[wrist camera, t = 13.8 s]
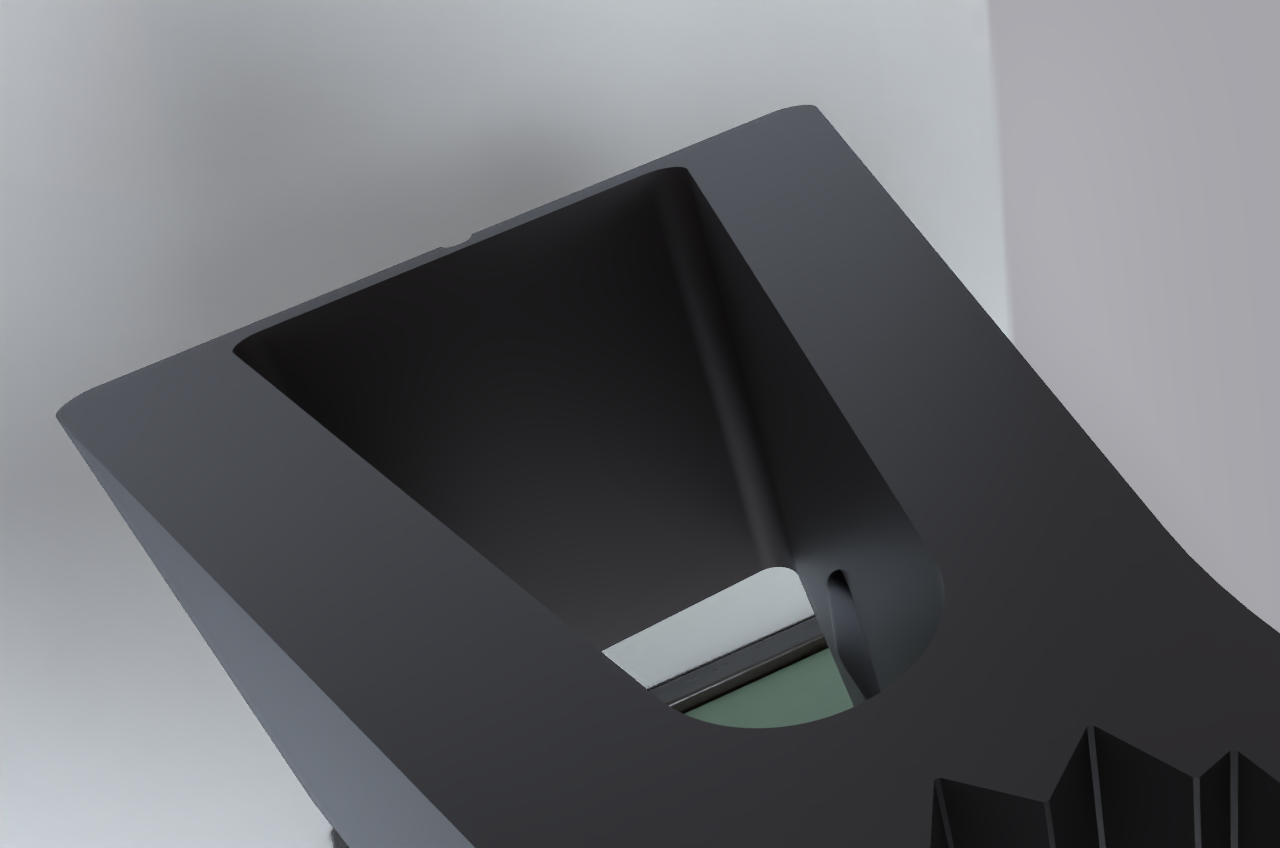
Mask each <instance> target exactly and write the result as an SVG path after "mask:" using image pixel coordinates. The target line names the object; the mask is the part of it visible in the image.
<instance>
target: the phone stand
mask: <svg viewBox="0 0 1280 848" xmlns="http://www.w3.org/2000/svg"><path fill="white" fill-rule="evenodd" d="M56 418H57V419H58V421H59V422H60V424H61V425H62V427H63V428H64V430H65V431H66V433H67V434H68V436H69V437H70V439H71V440H72V442H73V443H74V445H75V446H76V448H77V449H78V451H79V452H80V454H81V455H82V457H83V458H84V460H85V461H86V463H87V464H88V466H89V467H90V469H91V470H92V472H93V473H94V475H95V476H96V478H97V479H98V481H99V482H100V484H101V485H102V487H103V488H104V490H105V491H106V493H107V494H108V496H109V497H110V499H111V500H112V502H113V503H114V505H115V506H116V507H117V509H118V510H119V512H120V513H121V515H122V516H123V518H124V519H125V521H126V522H127V524H128V525H129V527H130V528H131V530H132V531H133V533H134V534H135V536H136V537H137V539H138V540H139V542H140V543H141V545H142V546H143V548H144V549H145V551H146V552H147V554H148V555H149V557H150V558H151V560H152V561H153V563H154V564H155V566H156V567H157V569H158V570H159V572H160V573H161V575H162V576H163V578H164V579H165V581H166V582H167V584H168V585H169V587H170V588H171V590H172V591H173V593H174V594H175V596H176V597H177V599H178V600H179V602H180V603H181V605H182V606H183V608H184V609H185V611H186V612H187V614H188V615H189V617H190V618H191V620H192V621H193V623H194V624H195V626H196V627H197V629H198V630H199V632H200V633H201V635H202V636H203V638H204V639H205V641H206V642H207V644H208V645H209V647H210V648H211V650H212V651H213V653H214V654H215V656H216V657H217V659H218V660H219V662H220V663H221V665H222V666H223V668H224V669H225V671H226V672H227V674H228V675H229V677H230V678H231V680H232V681H233V683H234V684H235V686H236V687H237V689H238V690H239V692H240V693H241V695H242V696H243V698H244V699H245V701H246V702H247V704H248V705H249V707H250V708H251V710H252V711H253V713H254V714H255V716H256V717H257V719H258V720H259V722H260V723H261V725H262V726H263V728H264V729H265V731H266V732H267V734H268V735H269V737H270V738H271V740H272V741H273V743H274V744H275V746H276V747H277V749H278V750H279V752H280V753H281V755H282V756H283V758H284V759H285V761H286V762H287V764H288V765H289V767H290V768H291V770H292V771H293V773H294V774H295V776H296V777H297V778H298V780H299V781H300V783H301V784H302V786H303V787H304V789H305V790H306V792H307V793H308V795H309V796H310V798H311V799H312V801H313V802H314V804H315V805H316V806H317V807H318V809H319V810H320V811H321V812H322V814H323V815H324V816H325V818H326V819H327V820H328V821H329V823H330V824H331V825H332V826H333V828H334V829H335V830H336V831H337V833H338V834H339V835H340V836H341V838H342V839H343V840H344V841H345V843H346V844H347V845H348V846H349V848H1280V633H1278V632H1277V631H1276V630H1275V629H1273V628H1272V627H1271V626H1269V625H1268V624H1267V623H1265V622H1264V621H1263V620H1262V619H1260V618H1259V617H1258V616H1256V615H1255V614H1254V613H1252V612H1251V611H1250V610H1249V609H1247V608H1246V607H1245V606H1244V605H1243V604H1242V603H1240V602H1239V601H1238V600H1237V599H1236V598H1235V597H1233V596H1232V595H1231V594H1230V593H1229V592H1228V591H1226V590H1225V589H1224V588H1223V587H1222V586H1220V584H1218V583H1217V582H1216V581H1215V580H1214V579H1213V578H1212V577H1211V576H1210V575H1209V574H1208V573H1207V572H1205V570H1204V569H1203V568H1202V567H1201V566H1200V565H1198V564H1197V563H1196V562H1195V561H1194V560H1193V559H1192V558H1191V557H1190V556H1189V555H1188V554H1187V553H1186V551H1185V550H1184V549H1183V548H1182V547H1181V546H1180V545H1179V544H1178V543H1177V541H1176V540H1175V539H1174V538H1173V537H1172V536H1171V535H1170V534H1169V532H1168V531H1167V530H1166V529H1165V528H1164V527H1163V526H1162V525H1161V523H1160V522H1159V521H1158V520H1157V519H1156V517H1155V516H1154V515H1153V513H1152V512H1151V511H1150V510H1149V509H1148V508H1147V506H1146V505H1145V504H1144V503H1143V501H1142V500H1141V499H1140V498H1139V497H1138V495H1137V494H1136V493H1135V492H1134V491H1133V489H1132V488H1131V487H1130V486H1129V484H1128V483H1127V482H1126V481H1125V480H1124V478H1123V477H1122V476H1121V475H1120V474H1119V472H1118V471H1117V470H1116V469H1115V468H1114V466H1113V465H1112V464H1111V463H1110V461H1109V460H1108V459H1107V458H1106V457H1105V456H1104V454H1103V453H1102V452H1101V451H1100V449H1099V448H1098V447H1097V446H1096V444H1095V443H1094V442H1093V441H1092V440H1091V439H1090V437H1089V436H1088V435H1087V434H1086V432H1085V431H1084V430H1083V429H1082V428H1081V426H1080V425H1079V424H1078V423H1077V422H1076V420H1075V419H1074V418H1073V417H1072V416H1071V414H1070V413H1069V412H1068V411H1067V410H1066V408H1065V407H1064V406H1063V405H1062V403H1061V402H1060V401H1059V400H1058V398H1057V397H1056V396H1055V395H1054V394H1053V393H1052V391H1051V390H1050V389H1049V388H1048V386H1047V385H1046V384H1045V383H1044V382H1043V380H1042V379H1041V378H1040V377H1039V376H1038V374H1037V373H1036V372H1035V371H1034V369H1033V368H1032V367H1031V366H1030V365H1029V363H1028V362H1027V361H1026V360H1025V359H1024V357H1023V356H1022V355H1021V354H1020V352H1019V351H1018V350H1017V349H1016V348H1015V346H1014V345H1013V344H1012V343H1011V342H1010V340H1009V339H1008V338H1007V337H1006V336H1005V334H1004V333H1003V332H1002V331H1001V329H1000V328H999V327H998V326H997V325H996V323H995V322H994V321H993V320H992V319H991V317H990V316H989V315H988V314H987V313H986V311H985V310H984V309H983V308H982V306H981V305H980V304H979V303H978V302H977V300H976V299H975V298H974V297H973V296H972V294H971V293H970V292H969V291H968V290H967V288H966V287H965V286H964V285H963V283H962V282H961V281H960V280H959V279H958V277H957V276H956V275H955V274H954V273H953V271H952V270H951V269H950V268H949V267H948V265H947V264H946V263H945V262H944V261H943V259H942V258H941V257H940V256H939V254H938V253H937V252H936V251H935V250H934V248H933V247H932V246H931V245H930V244H929V242H928V241H927V240H926V239H925V238H924V236H923V235H922V234H921V233H920V231H919V230H918V229H917V228H916V227H915V225H914V224H913V223H912V222H911V221H910V219H909V218H908V217H907V216H906V215H905V213H904V212H903V211H902V210H901V208H900V207H899V206H898V205H897V204H896V202H895V201H894V200H893V199H892V198H891V196H890V195H889V194H888V193H887V192H886V190H885V189H884V188H883V187H882V185H881V184H880V183H879V182H878V181H877V179H876V178H875V177H874V176H873V175H872V173H871V172H870V171H869V170H868V169H867V167H866V166H865V165H864V164H863V162H862V161H861V160H860V159H859V158H858V156H857V155H856V154H855V153H854V152H853V150H852V149H851V148H850V147H849V146H848V144H847V143H846V142H845V141H844V139H843V138H842V137H841V136H840V135H839V133H838V132H837V131H836V130H835V129H834V127H833V126H832V125H831V124H830V123H829V121H828V120H827V119H826V118H825V116H824V115H823V114H822V113H821V112H820V110H819V109H818V108H817V107H816V106H813V105H800V106H794V107H789V108H785V109H781V110H778V111H775V112H772V113H770V114H767V115H765V116H763V117H760V118H758V119H755V120H753V121H750V122H748V123H745V124H743V125H740V126H738V127H735V128H733V129H731V130H728V131H726V132H723V133H721V134H718V135H716V136H713V137H711V138H708V139H706V140H703V141H701V142H698V143H696V144H694V145H691V146H689V147H686V148H684V149H681V150H679V151H676V152H674V153H671V154H669V155H666V156H664V157H662V158H659V159H657V160H654V161H652V162H649V163H647V164H644V165H642V166H639V167H637V168H634V169H632V170H629V171H627V172H625V173H622V174H620V175H617V176H615V177H612V178H610V179H607V180H605V181H602V182H600V183H597V184H595V185H593V186H590V187H588V188H585V189H583V190H580V191H578V192H575V193H573V194H570V195H568V196H565V197H563V198H560V199H558V200H556V201H553V202H551V203H548V204H546V205H543V206H541V207H538V208H536V209H533V210H531V211H528V212H526V213H523V214H521V215H519V216H516V217H514V218H511V219H509V220H506V221H504V222H501V223H499V224H496V225H494V226H491V227H489V228H487V229H484V230H482V231H479V232H477V233H474V234H472V237H471V238H470V239H469V240H467V241H466V242H464V243H462V244H459V245H457V246H454V247H449V248H442V247H440V248H437V249H435V250H432V251H430V252H427V253H425V254H422V255H420V256H418V257H415V258H413V259H410V260H408V261H405V262H403V263H400V264H398V265H395V266H393V267H390V268H388V269H385V270H383V271H381V272H378V273H376V274H373V275H371V276H368V277H366V278H363V279H361V280H358V281H356V282H353V283H351V284H349V285H346V286H344V287H341V288H339V289H336V290H334V291H331V292H329V293H326V294H324V295H321V296H319V297H316V298H314V299H312V300H309V301H307V302H304V303H302V304H299V305H297V306H294V307H292V308H289V309H287V310H284V311H282V312H280V313H277V314H275V315H272V316H270V317H267V318H265V319H262V320H260V321H257V322H255V323H252V324H250V325H247V326H245V327H243V328H240V329H238V330H235V331H233V332H230V333H228V334H225V335H223V336H220V337H218V338H215V339H213V340H210V341H208V342H206V343H203V344H201V345H198V346H196V347H193V348H191V349H188V350H186V351H183V352H181V353H178V354H176V355H174V356H171V357H169V358H166V359H164V360H161V361H159V362H156V363H154V364H151V365H149V366H146V367H144V368H141V369H139V370H137V371H134V372H132V373H129V374H127V375H124V376H122V377H119V378H117V379H114V380H112V381H109V382H107V383H105V384H102V385H100V386H97V387H95V388H92V389H90V390H88V391H86V392H84V393H82V394H80V395H79V396H77V397H75V398H74V399H72V400H70V401H69V402H68V403H66V404H65V405H64V406H63V407H62V408H60V410H59V411H58V412H57V414H56ZM771 567H786V568H790V569H792V570H794V571H795V572H796V573H797V574H798V575H799V578H800V580H801V582H802V585H803V587H804V589H805V592H806V594H807V597H808V599H809V601H810V604H811V606H812V608H813V611H814V613H815V616H816V618H817V620H818V623H819V625H820V628H821V630H822V632H823V635H824V637H825V639H826V642H827V644H828V647H829V649H830V651H831V654H832V656H833V658H834V661H835V663H836V666H837V668H838V670H839V673H840V675H841V677H842V680H843V682H844V685H845V687H846V689H847V692H848V694H849V697H850V699H851V701H852V704H853V706H854V707H852V708H850V709H848V710H845V711H843V712H840V713H838V714H835V715H832V716H829V717H826V718H823V719H819V720H815V721H811V722H807V723H802V724H797V725H791V726H784V727H774V728H740V727H730V726H723V725H718V724H713V723H709V722H705V721H702V720H699V719H696V718H693V717H690V716H688V715H685V714H683V713H681V712H679V711H677V710H675V709H673V708H671V707H670V706H668V705H667V704H665V703H664V702H662V701H661V700H660V699H658V698H657V697H656V696H655V695H653V694H652V693H651V692H650V691H648V690H647V689H646V688H645V687H643V686H642V685H641V684H640V683H639V682H637V681H636V680H635V679H634V678H632V677H631V676H630V675H629V674H627V673H626V672H625V671H624V670H623V669H621V668H620V667H619V666H618V665H616V664H615V663H614V662H613V661H611V660H610V659H609V658H608V657H607V656H605V655H604V654H603V653H602V652H600V651H602V650H604V649H606V648H608V647H610V646H612V645H614V644H616V643H618V642H620V641H622V640H624V639H626V638H628V637H630V636H632V635H634V634H636V633H638V632H640V631H642V630H644V629H646V628H648V627H650V626H652V625H654V624H656V623H658V622H660V621H662V620H664V619H666V618H668V617H670V616H672V615H674V614H676V613H678V612H680V611H682V610H684V609H686V608H688V607H690V606H692V605H694V604H696V603H698V602H700V601H702V600H704V599H706V598H708V597H710V596H712V595H714V594H716V593H718V592H720V591H722V590H724V589H726V588H728V587H730V586H732V585H734V584H736V583H738V582H740V581H742V580H744V579H746V578H748V577H750V576H752V575H754V574H756V573H758V572H760V571H762V570H764V569H767V568H771ZM838 569H839V570H840V571H841V573H842V575H843V576H844V578H845V580H846V582H847V584H848V587H849V589H850V591H851V594H852V597H853V601H854V604H855V607H856V611H857V614H858V617H859V621H860V624H861V628H862V631H863V634H864V638H865V641H866V644H867V648H868V651H869V655H870V658H871V661H872V665H873V668H874V671H875V675H876V678H877V682H878V685H879V688H880V693H878V694H877V695H875V696H874V697H872V698H870V699H868V700H865V698H864V697H863V695H862V694H861V692H860V691H859V689H858V688H857V686H856V685H855V683H854V682H853V680H852V679H851V677H850V676H849V674H848V673H847V671H846V669H845V668H844V666H843V664H842V662H841V660H840V658H839V655H838V653H837V649H836V646H835V641H834V634H833V627H832V620H831V614H830V607H829V600H828V593H827V580H828V577H829V575H830V574H831V573H832V572H833V571H835V570H838Z"/></svg>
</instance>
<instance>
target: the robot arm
mask: <svg viewBox="0 0 1280 848" xmlns="http://www.w3.org/2000/svg"><path fill="white" fill-rule="evenodd" d="M827 593H828V600H829V607H830V614H831V620H832V627H833V634H834V641H835V646H836V649H837V653H838V655H839V658H840V660H841V662H842V664H843V666H844V668H845V669H846V671H847V673H848V674H849V676H850V677H851V679H852V680H853V682H854V683H855V685H856V686H857V688H858V689H859V691H860V692H861V694H862V695H863V697H864V698H865V700H868V699H870V698H872V697H874V696H875V695H877V694H878V693H880V688H879V685H878V682H877V678H876V675H875V671H874V668H873V665H872V661H871V658H870V655H869V651H868V648H867V644H866V641H865V638H864V634H863V631H862V628H861V624H860V621H859V617H858V614H857V611H856V607H855V604H854V601H853V597H852V594H851V591H850V589H849V587H848V584H847V582H846V580H845V578H844V576H843V575H842V573H841V571H840V570H839V569H838V570H835V571H833V572H832V573H831V574H830V575H829V577H828V580H827Z"/></svg>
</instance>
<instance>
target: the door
mask: <svg viewBox="0 0 1280 848" xmlns="http://www.w3.org/2000/svg"><path fill="white" fill-rule="evenodd" d="M852 707H854V706H853V704H852V701H851V699H850V697H849V694H848V692H847V689H846V687H845V685H844V682H843V680H842V677H841V675H840V673H839V670H838V668H837V666H836V663H835V661H834V658H833V656H832V654H831V651H830V649H829V648H827V649H825V650H823V651H821V652H818V653H816V654H814V655H812V656H810V657H807V658H805V659H803V660H801V661H799V662H796V663H794V664H792V665H790V666H788V667H786V668H783V669H781V670H779V671H777V672H775V673H772V674H770V675H768V676H766V677H764V678H761V679H759V680H757V681H755V682H753V683H750V684H748V685H746V686H744V687H742V688H740V689H737V690H735V691H733V692H731V693H729V694H726V695H724V696H722V697H720V698H718V699H715V700H713V701H711V702H709V703H707V704H704V705H702V706H700V707H698V708H696V709H694V710H691V711H689V712H687V713H685V715H688V716H690V717H693V718H696V719H699V720H702V721H705V722H709V723H713V724H718V725H723V726H730V727H740V728H774V727H784V726H791V725H797V724H802V723H807V722H811V721H815V720H819V719H823V718H826V717H829V716H832V715H835V714H838V713H840V712H843V711H845V710H848V709H850V708H852Z"/></svg>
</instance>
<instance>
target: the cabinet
mask: <svg viewBox="0 0 1280 848" xmlns="http://www.w3.org/2000/svg"><path fill="white" fill-rule="evenodd" d="M827 648H829V647H828V644H827V642H826V639H825V637H824V635H823V632H822V630H821V628H820V625H819V623H818V620H817V618H816V616H815V617H813V618H811V619H809V620H806V621H804V622H802V623H800V624H797V625H795V626H793V627H791V628H788V629H786V630H784V631H782V632H780V633H777V634H775V635H773V636H771V637H768V638H766V639H764V640H762V641H759V642H757V643H755V644H753V645H750V646H748V647H746V648H744V649H741V650H739V651H737V652H735V653H732V654H730V655H728V656H726V657H724V658H721V659H719V660H717V661H715V662H712V663H710V664H708V665H706V666H703V667H701V668H699V669H697V670H694V671H692V672H690V673H688V674H685V675H683V676H681V677H679V678H676V679H674V680H672V681H670V682H668V683H665V684H663V685H661V686H659V687H656V688H654V689H652V690H650V692H651V693H652V694H653V695H655V696H656V697H657V698H658V699H660V700H661V701H662V702H664V703H665V704H667V705H668V706H670V707H671V708H673V709H675V710H677V711H679V712H681V713H683V714H685V713H687V712H689V711H691V710H694V709H696V708H698V707H700V706H702V705H704V704H707V703H709V702H711V701H713V700H715V699H718V698H720V697H722V696H724V695H726V694H729V693H731V692H733V691H735V690H737V689H740V688H742V687H744V686H746V685H748V684H750V683H753V682H755V681H757V680H759V679H761V678H764V677H766V676H768V675H770V674H772V673H775V672H777V671H779V670H781V669H783V668H786V667H788V666H790V665H792V664H794V663H796V662H799V661H801V660H803V659H805V658H807V657H810V656H812V655H814V654H816V653H818V652H821V651H823V650H825V649H827ZM332 843H333V848H349V846H348V845H347V844H346V843H345V841H344V840H343V839H342V838H341V836H340V835H339V834H338V833H337V831H334V832H333V833H332Z"/></svg>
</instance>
